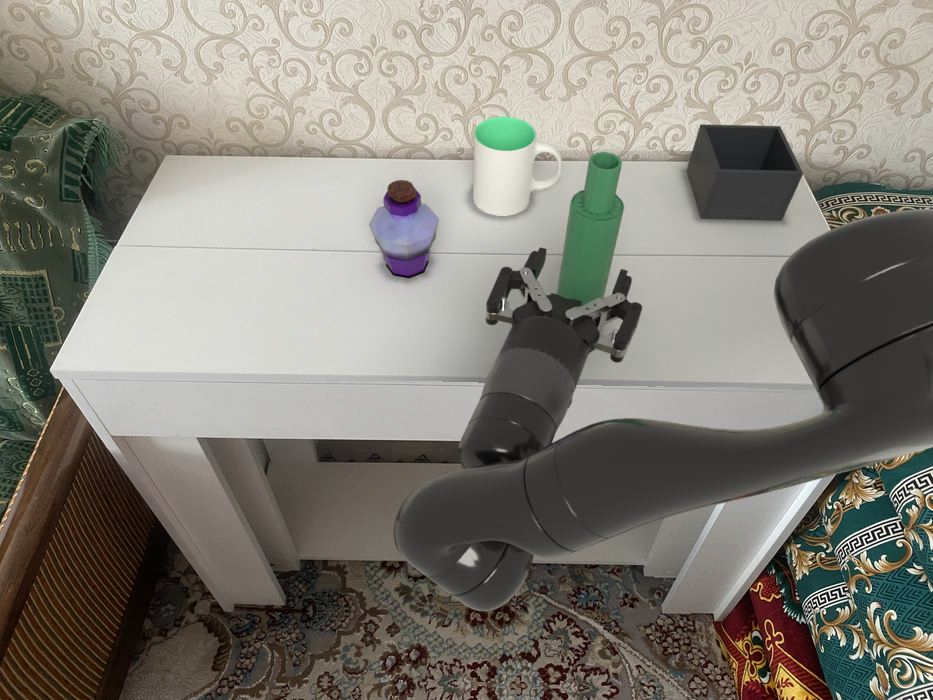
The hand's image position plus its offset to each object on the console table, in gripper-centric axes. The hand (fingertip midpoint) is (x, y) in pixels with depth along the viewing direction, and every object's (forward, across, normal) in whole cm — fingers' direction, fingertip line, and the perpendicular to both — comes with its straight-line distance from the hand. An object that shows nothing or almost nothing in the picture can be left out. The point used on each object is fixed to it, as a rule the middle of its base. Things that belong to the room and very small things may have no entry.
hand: (582, 264), depth 70 cm
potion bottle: (+5, +23, +13) cm, 27 cm away
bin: (+36, -14, +13) cm, 41 cm away
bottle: (+3, 0, +12) cm, 13 cm away
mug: (+24, +15, +13) cm, 31 cm away
